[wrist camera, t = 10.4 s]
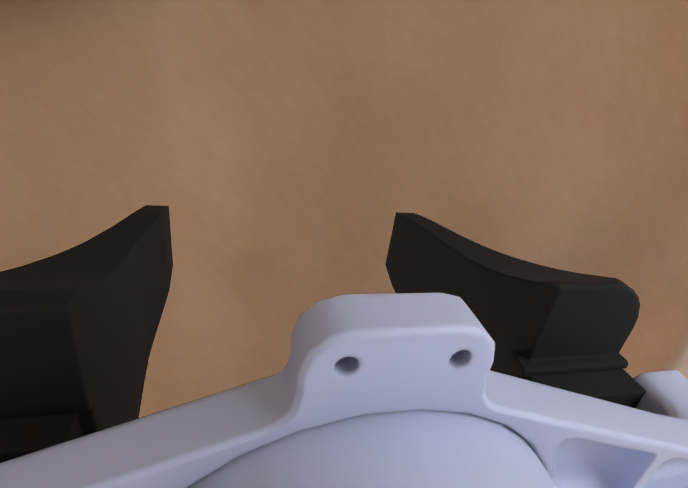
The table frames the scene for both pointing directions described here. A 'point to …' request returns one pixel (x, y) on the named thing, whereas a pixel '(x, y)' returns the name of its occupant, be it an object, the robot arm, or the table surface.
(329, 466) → the robot arm
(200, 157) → the table surface
